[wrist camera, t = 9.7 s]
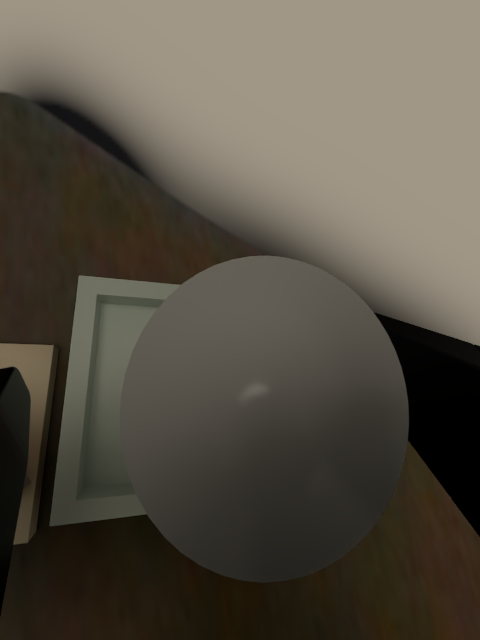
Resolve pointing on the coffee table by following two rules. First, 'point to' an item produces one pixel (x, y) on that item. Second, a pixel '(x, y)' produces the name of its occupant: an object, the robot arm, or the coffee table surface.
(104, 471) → the tray
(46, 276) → the coffee table surface
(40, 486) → the fuse holder
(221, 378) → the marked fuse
